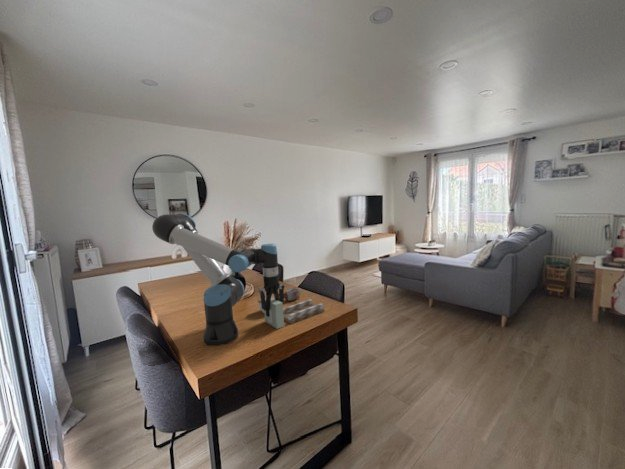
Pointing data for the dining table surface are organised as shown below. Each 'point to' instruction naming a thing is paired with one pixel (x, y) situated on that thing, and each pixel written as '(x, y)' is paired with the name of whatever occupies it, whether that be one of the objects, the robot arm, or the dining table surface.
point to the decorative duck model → (292, 294)
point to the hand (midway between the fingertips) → (274, 320)
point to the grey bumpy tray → (301, 311)
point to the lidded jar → (260, 302)
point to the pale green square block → (276, 314)
